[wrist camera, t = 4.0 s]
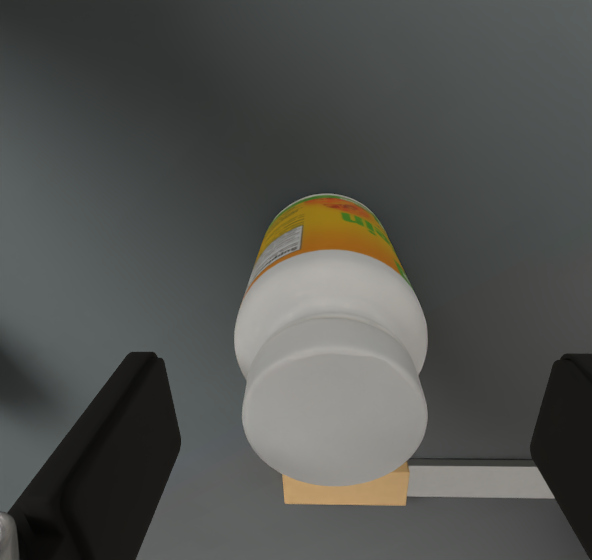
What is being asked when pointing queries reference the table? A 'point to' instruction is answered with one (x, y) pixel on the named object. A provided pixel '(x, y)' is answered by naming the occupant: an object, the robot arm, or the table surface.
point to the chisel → (429, 483)
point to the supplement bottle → (331, 347)
